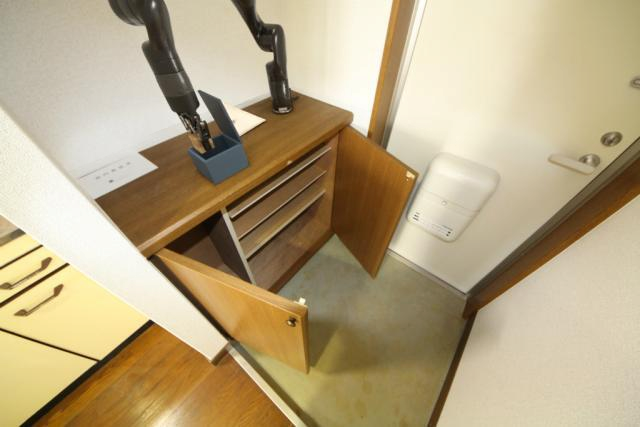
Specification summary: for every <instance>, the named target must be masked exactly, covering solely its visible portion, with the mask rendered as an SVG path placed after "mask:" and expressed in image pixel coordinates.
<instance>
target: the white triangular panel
mask: <svg viewBox="0 0 640 427" xmlns="http://www.w3.org/2000/svg"><path fill="white" fill-rule="evenodd" d="M222 103H223V105H224V107H225V109H226V111H227V113H228V115H229V117H230V119H231V120H232V122H233V124H234V126H235V128H236V130H237V132H238V134H239V136H240V137H241V136H243V135H244V134H246V133H248V132H250V131H251V130H253V129H255V128H256V127H257V126H259V125H260V124H262V123H265V122H266V120H267V119H265V118H263V117H260V116H258V115H255V114H254V113H250V112H248V111H245V110H243V109H241V108H238V107H236V106H234V105H232V104H231V105H230V104H228V103H225V102H223V101H222Z"/></svg>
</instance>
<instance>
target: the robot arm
mask: <svg viewBox="0 0 640 427" xmlns="http://www.w3.org/2000/svg"><path fill="white" fill-rule="evenodd" d="M107 2H108V5H109V7H110V9H111V10H112V12H113V13H114V14H115V17H117V18H118V19H119V20H121V21H122V22H123V23H125V24H127V25H130V26H132V27H133V26H134V27H144V28H145V29H146V33H147V38H148V39H147V40H145V41H144V42H142V43H141V51H142V53H143V55H144V58H145V59H146V62H147V63H148V66H149V67H150V70H151V72H152V73H153V75H154V78H155V81H156V83H157V84H158V87H159V89H160V91H161V93H162V95H163V97H164V98H165V100H166V102H167V104H168V106H169V108H170V110H171V112H173V113H175V114H176V115H177V116H178V119H179V120H180V122H181V123H182V125H183V126H184V128H185V130H186V131H187V132H188V133H189V135H190V134H193V133H195V134H197V136H198V137H199V139H200V141H201V143H202V145H203V147H204V149H205V151H209V150H211V149H212V146H211V144H210V142H209V139H210V138H212V136H211V132H210V129H209V125H208V122H207V121H206V120H205V119H204V120H202V117H201V115H200V114H199V112H197V110H198V109H199V108H200V105H201V103H200V101H199V98H198V96H197V93H196V91H195V89H194V86H193V83H192V81H191V79H190V76H189V74H188V73H187V71H186V69H185V68H184V65H183V63H182V60H181V57H180V55H179V52H178V51H177V48H176V44H175V37H174V31H173V25H172V20H171V15H170V12H169V9H168V6H167V4H166V2H165V0H107ZM230 2H231V3H232V5H233V6H234V8H235V9H236V11H237V12H238V14H239V15H240V17H241V18H242V20H243V21H244V23H245V25H246V26H247V28H248V31H249V33H250V35H251V36H252V38H253V39H254V41H255V43H256V45H257V46H258V48H259V49H260V51H262V52H264V53H272V54H273V55H272V56H273V59H272V60H270V61H267V62H266V63H265V66H264V67H265V73H266V78H267V83H268V88H269V89H268V90H269V95H270V101H271V107H272V112H273V113H274V114H278V115H284V114H288V113H290V112H291V111H292V110H293V109H294V105H293V104H294V101H295V100H297V99H298V98H299V96H298V95H296V96H295V97H294V96H293V95H292V89H291V87H290V84H289V77H288V76H289V75H288V55H287V53H288V52H287V40H286V34H285V29H284V27H283V26H282V25H281V24H279V23H267V22H264V21H263V20H262V18H261V16H260V14H259V12H258V11H257V0H230ZM199 133H200V134H199Z"/></svg>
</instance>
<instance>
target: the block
mask: <svg viewBox="0 0 640 427" xmlns="http://www.w3.org/2000/svg"><path fill="white" fill-rule="evenodd" d="M199 134H200V133H199ZM211 138H212V137H211ZM211 138H210V139H209V142H210V144H211V146H212V149H213V148H215V146H214V144H213V142H212V139H211ZM188 139H189V140H190V142H191V144H192V146H194V148H195V149H196V150H198V151H199V152H200V153H204V152H206V151H205V149H204V147H203V145H202V143H201V141H200V139H199V137H198V136H197V134H195V133H193V134H190V133H189V134H188Z"/></svg>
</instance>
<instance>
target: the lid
mask: <svg viewBox="0 0 640 427" xmlns="http://www.w3.org/2000/svg"><path fill="white" fill-rule="evenodd" d="M197 93H198V94H199V96H200V99H201V100H202V102H203V104H204V105H205V107H206V108H207V111H208V112H209V114H210V115H211V118H213V121H214V122H215V124H216V125H217V127H218V129H219V131H220V132H221V133H224V134H226V135H228V136H229V137H231V138H233V139H235V140H236V141H238V142H240V143H242V144H243V140H242V138H241V136H239V134H238V132H237V130H236V128H235V126H234V124H233V122H232V120H231V119H230V117H229V115H228V113H227V111H226V109H225V107H224V105H223V103H224V102H223V101H222V99H220V98H219V97H216V96H214V95H212V94H211V93H208V92H206V91H203V90H201V89H198V90H197ZM222 102H223V103H222Z"/></svg>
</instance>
